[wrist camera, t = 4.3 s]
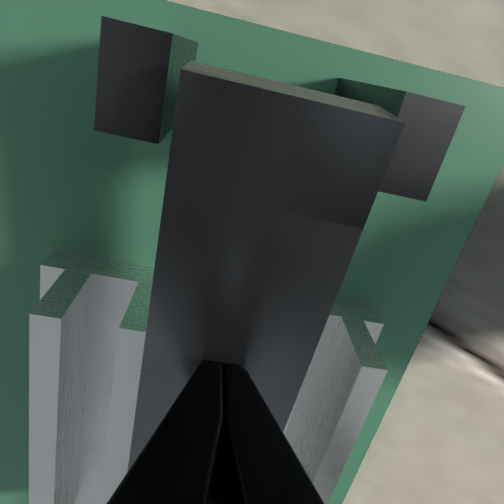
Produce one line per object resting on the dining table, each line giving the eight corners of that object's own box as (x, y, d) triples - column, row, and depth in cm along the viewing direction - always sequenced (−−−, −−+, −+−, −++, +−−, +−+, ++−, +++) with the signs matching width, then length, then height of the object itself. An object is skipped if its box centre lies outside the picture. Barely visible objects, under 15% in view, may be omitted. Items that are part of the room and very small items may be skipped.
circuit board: (293, 572, 22) (296, 599, 21) (11, 547, 20) (-2, 575, 19) (508, 92, 12) (535, 95, 11) (-3, -39, 10) (-31, -50, 9)
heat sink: (261, 584, 20) (268, 723, 16) (44, 566, 19) (-9, 711, 15) (454, 106, 11) (588, 136, 7) (61, 8, 10) (-67, -26, 6)
